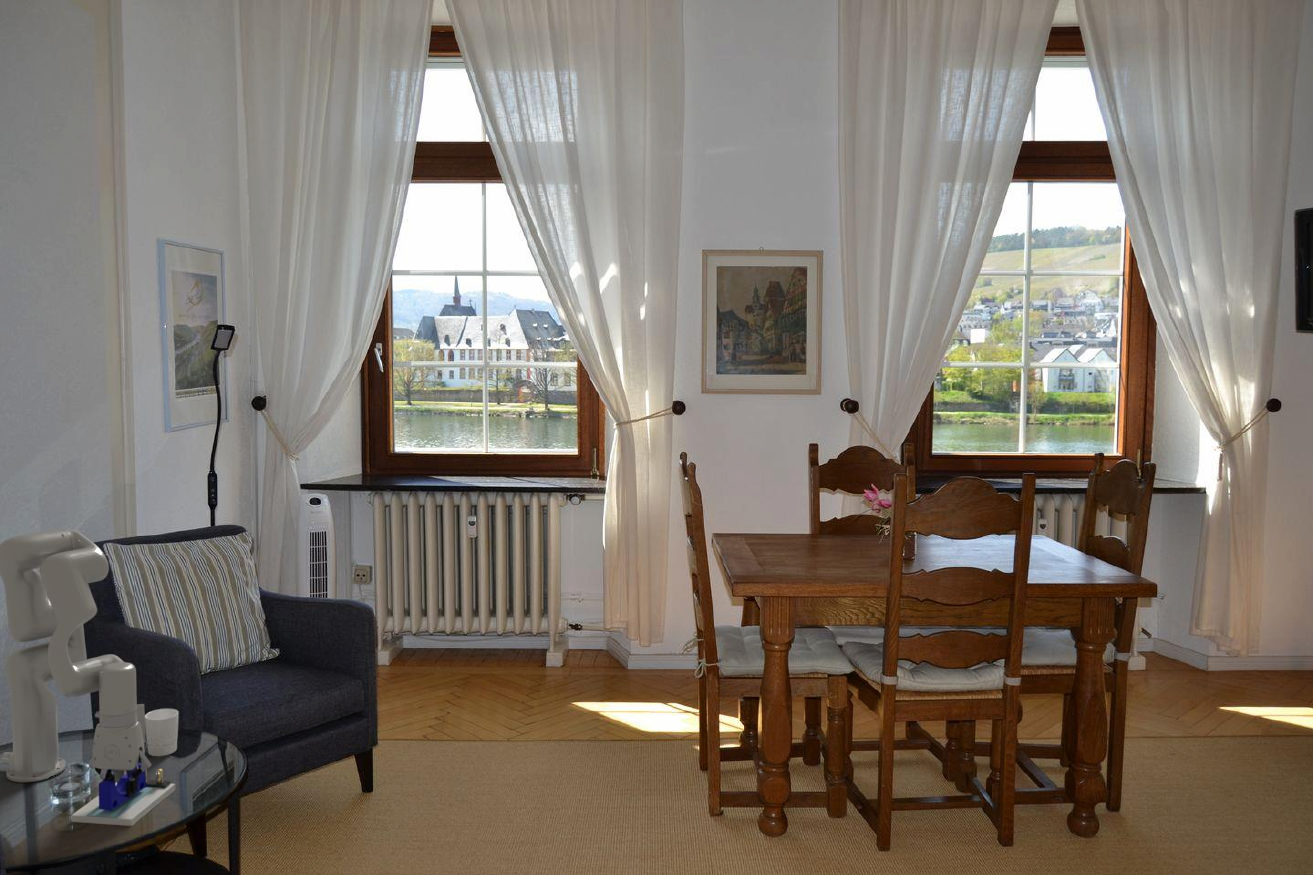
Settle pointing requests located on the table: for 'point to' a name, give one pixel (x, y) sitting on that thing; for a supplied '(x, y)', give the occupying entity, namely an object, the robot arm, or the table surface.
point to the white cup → (161, 731)
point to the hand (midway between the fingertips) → (120, 793)
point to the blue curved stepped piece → (117, 791)
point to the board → (123, 808)
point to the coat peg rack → (155, 783)
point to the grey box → (141, 719)
